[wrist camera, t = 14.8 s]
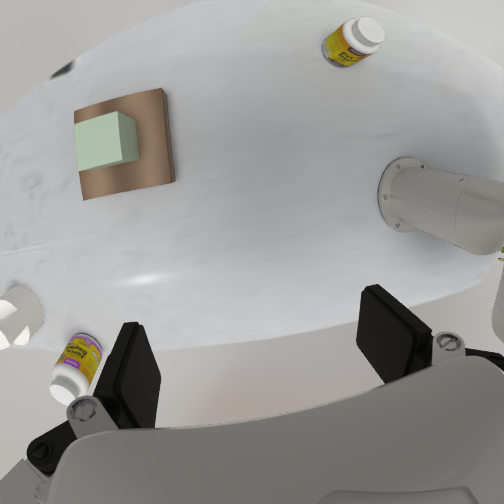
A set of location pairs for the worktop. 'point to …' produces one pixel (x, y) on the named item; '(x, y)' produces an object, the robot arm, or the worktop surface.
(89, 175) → the walnut base
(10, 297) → the base with upright slab
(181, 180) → the worktop surface
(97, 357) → the supplement bottle
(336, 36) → the supplement bottle
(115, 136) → the sage block
